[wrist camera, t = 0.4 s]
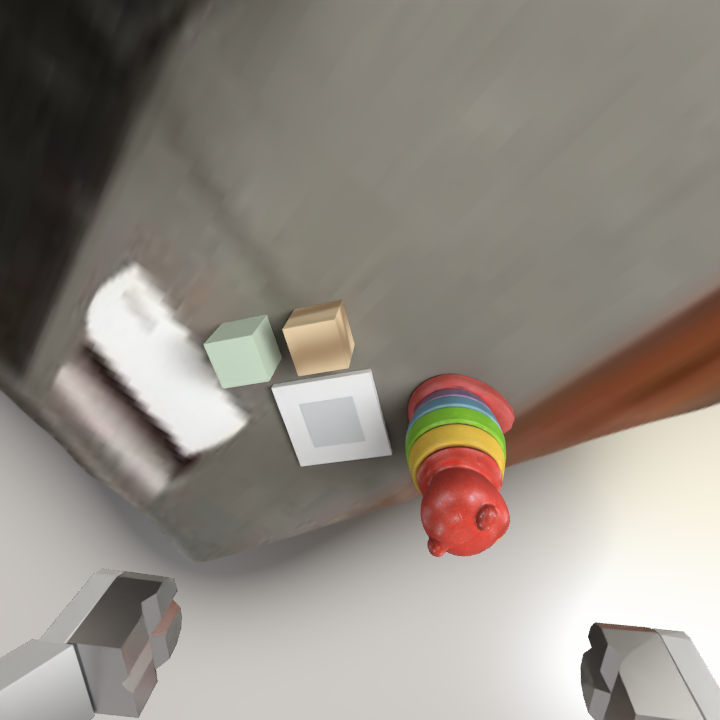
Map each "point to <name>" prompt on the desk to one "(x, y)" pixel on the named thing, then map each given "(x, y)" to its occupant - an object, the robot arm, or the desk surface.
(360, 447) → the plate
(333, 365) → the oak block
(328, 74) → the desk surface
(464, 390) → the stacking bear
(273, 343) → the sage block
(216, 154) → the desk surface
